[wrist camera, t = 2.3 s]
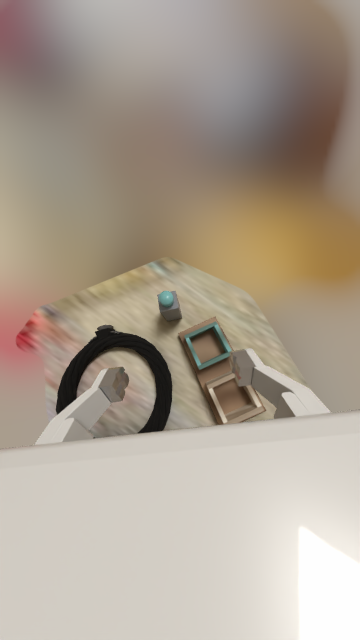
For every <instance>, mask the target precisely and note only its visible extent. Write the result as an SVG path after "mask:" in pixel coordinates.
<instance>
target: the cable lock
mask: <svg viewBox="0 0 360 640" xmlns="http://www.w3.org/2000/svg"><path fill="white" fill-rule="evenodd" d="M112 328H113V326H111V325H103V326H100V327H98V328H97V330H99V331H96V332H95V333H96V335H97V337H94V338H93V339H91V340H90V342H88V343H89V344H87V345H86V346H85V347H84V348H83V349H82V350H81V351H80V352H79V353H78V354H77V355H76V356H75V357H74V358H73V360H72V361H71V362H70V364H69V366H68V367H67V369H66V371H65V373H64V375H63V377H62V380H61V383H60V386H59V390H58V398H57V405H56V412H57V415H58V414H59V413H60V412H61V411H63V410H64V409H65V408H66V407H67V406H69V405H70V404H71V403H72V402H73V401H75V400H76V389H77V386H78V383H79V379H80V376H81V374H82V372H83V370H84V369H85V367H86V366H87V365H88V363H89V362H90V361H91V360H92V359H93V358H94V357H95V356H96V355H97V354H99V353H101V352H103V351H105V350H107V349H109V348H113V347H124V348H130V349H133V350H135V351H136V352H138V353H139V354H140V355H141V356H143V357H144V358H145V359H146V360H147V361H148V363H149V365H150V367H151V369H152V371H153V373H154V375H155V382H156V393H157V396H156V401H155V405H154V410H153V412H152V414H151V416H150V418H149V420H148V422H147V424H146V425H145V426H144V427H143V428H142V429H141V430H140V431H139V432H138V433H137V434H140V433H149V432H158V431H162V430H163V429H164V427H165V425H166V422H167V419H168V416H169V414H170V408H171V402H172V381H171V374H170V372H169V369H168V366H167V363H166V361H165V360H164V358H163V357H162V355H161V353H160V352H159V351H158V350H157V349H156V348H155V346H154V345H152V344H151V343H150V342H148V341H147V340H145V339H143V338H141V337H139V336H137V335H132V334H128V333H122V332H117V331H115V330H114V329H112ZM93 439H94V438H93Z"/></svg>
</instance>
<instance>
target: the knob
mask: <svg viewBox="0 0 360 640" xmlns="http://www.w3.org/2000/svg"><path fill="white" fill-rule="evenodd" d="M157 296H158V302H159V309H160V313H161V314H162V315H163V316H164V318H165V319H166V320H167V321H171V320H176V319H180V318H182V315H181V310H180V305H179V302H178V298H177V295H176V292H175V291H172V292H169V291H163V292H162V293H161V294H159V295H157Z"/></svg>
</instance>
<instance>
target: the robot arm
mask: <svg viewBox="0 0 360 640" xmlns="http://www.w3.org/2000/svg"><path fill="white" fill-rule="evenodd" d="M230 357H231V358H230V360H229V363H230V368H231V371H232V373H234V374H235V380H236V382H237V384H238V386H249V385H251V386H252V387H253V388H254V389H255V390H257V391H258V392H259V393H260V394H261V395H262V396H264V397H265V398H266V399H267V400H268V401H269V402H271V403H272V404H273V405H274V406H275V407H277V409H276V411H275V414H274V419H269V420H260V421H250V422H241V423H232V424H223V425H214V426H204V427H195V428H186V429H177V430H167V431H158V432H149V433H140V434H131V435H122V436H112V437H103V438H94V436H93V434H92V433H90V432H89V430H90V429H91V428H92V426H93V425H94V424H95V423H96V421H97V420H98V419H99V418H100V417H101V415H102V414H103V413H104V412H105V410H106V409H107V408H108V407H109V406H110V404H111V403H113V402H119V401H123V398H124V395H125V390H124V389H125V388H126V387H127V386H128V382H129V378H128V375H127V373H125V372H124V371H125V369H124V368H123V367H116V368H108V369H102V370H101V371H100V373H99V375H98V377H97V378H96V380H95V382H94V383H93V385H92V387H91V388H90V389H88V390H87V391H85V392H84V393H83V394H82V395H81V396H79V397H78V398H77V399H76V400H75V401H73V402H72V403H71V404H70V405H69V406H67V407H66V408H65V409H64V410H63V411H61V412H60V413H59V414H58V415H57V416H56V417H54V418H53V419H52V420H51V421H50V423H49V424H48V426H47V427H46V429H45V430H44V431H43V433H42V434H41V436H40V437H39V439H38V440H37V441H36V443H35V444H34V445H30V446H22V447H12V448H2V449H0V640H360V410H351V411H342V412H333V413H331V412H330V411H329V410H328V409H327V407H326V406H325V405H324V404H323V403H322V402H321V401H320V400H319V399H318V398H317V396H316V395H315V394H314V393H313V392H312V391H311V390H310V389H309V388H307V387H305V386H303V385H302V384H300V383H298V382H296V381H294V380H292V379H291V378H289V377H287V376H285V375H283V374H282V373H280V372H278V371H276V370H274V369H272V368H271V367H269V366H265V365H264V364H263V363H262V361H261V360H260V358H259V357H258V356H257V354H256V353H255V352H254V350H253V349H252V348H250V349H243V350H236V351H230ZM93 438H94V439H93Z"/></svg>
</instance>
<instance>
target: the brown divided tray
mask: <svg viewBox="0 0 360 640" xmlns="http://www.w3.org/2000/svg"><path fill="white" fill-rule="evenodd" d="M178 334H179V336H180V338H181V341H182V343H183V345H184V347H185V350H186V352H187V354H188V357H189V359H190V361H191V363H192V366H193V368H194V370H195V372H196V375H197V377H198V379H199V381H200V384H201V386H202V388H203V391H204V393H205V395H206V397H207V400H208V402H209V404H210V406H211V409H212V411H213V413H214V416H215V418H216V420H217V422H218V425H223V424H232V423H241V422H243V421H245V420H247V419H250V418H252V417H254V416H256V415H258V414H260V413H262V412H265V411H266V409H265V407H264V406H263V404H262V402H261V400H260V398H259V396H258V394H257V393H256V391H255V389H254V388H253V387H252V386H251V385H249V386H238V384H237V382H236V380H235V374H234V373H232V371H231V368H230V363H229V360H230V358H231V357H230V351H234V350H233V349H232V347H231V345H230V343H229V341H228V339H227V338H226V336H225V334H224V332H223V330H222V328H221V327H220V325H219V323H218V321H217V319H216V317H213V318H211V319H209V320H206V321H204V322H202V323H200V324H198V325H195V326H193V327H191V328H189V329H187V330H185V331H182V332H180V333H178Z"/></svg>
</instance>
